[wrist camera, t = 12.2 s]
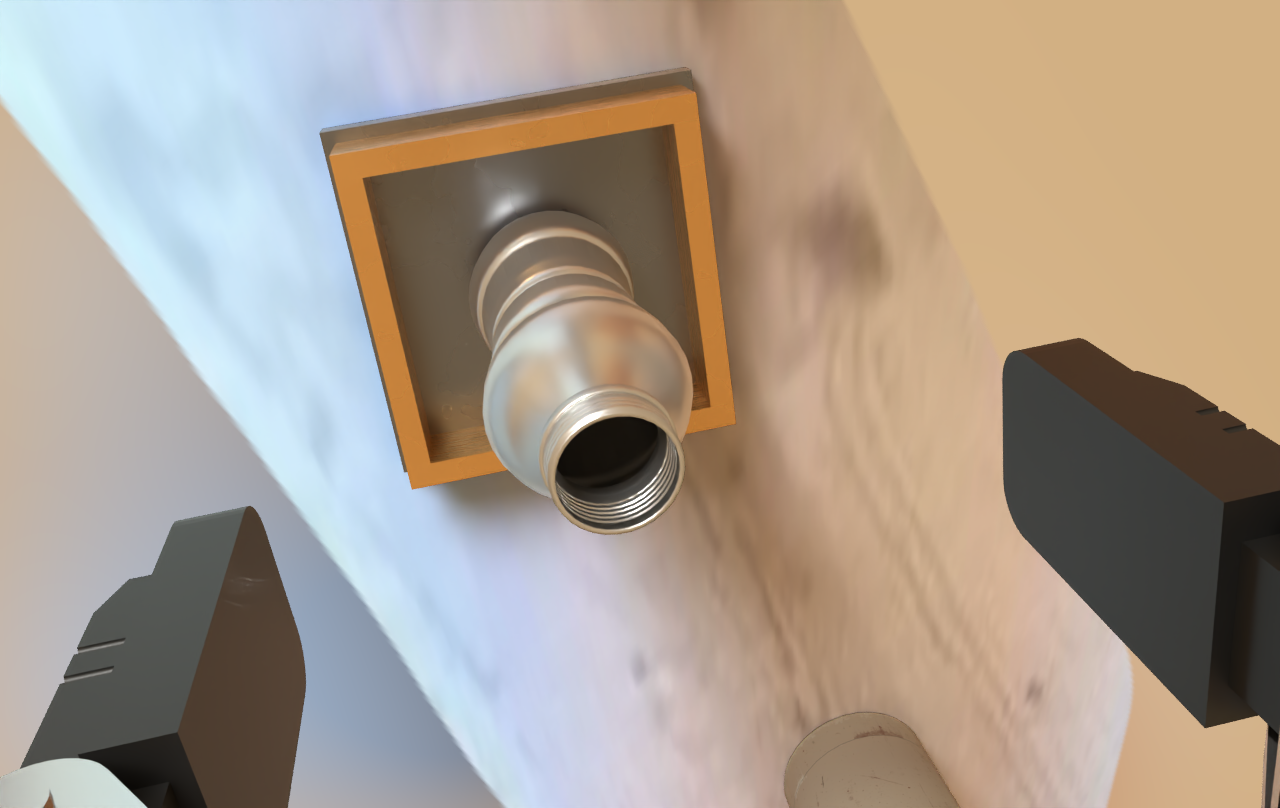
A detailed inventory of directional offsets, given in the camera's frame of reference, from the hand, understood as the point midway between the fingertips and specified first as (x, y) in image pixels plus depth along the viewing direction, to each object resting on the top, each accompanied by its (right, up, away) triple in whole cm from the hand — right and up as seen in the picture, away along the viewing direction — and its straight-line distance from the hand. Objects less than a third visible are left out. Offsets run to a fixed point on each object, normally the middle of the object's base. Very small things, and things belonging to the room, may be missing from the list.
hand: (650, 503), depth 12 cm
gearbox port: (-4, +7, +37) cm, 38 cm away
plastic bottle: (-4, +7, +36) cm, 37 cm away
